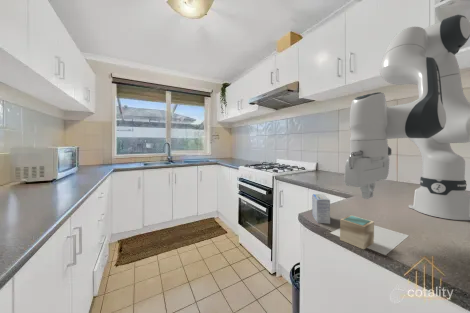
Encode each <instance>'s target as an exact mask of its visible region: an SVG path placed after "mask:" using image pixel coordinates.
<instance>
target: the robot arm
mask: <svg viewBox="0 0 470 313" xmlns="http://www.w3.org/2000/svg"><path fill="white" fill-rule="evenodd" d="M469 39H470V20H469V19H467V17H466V16H465V15H462V14H456V15H451V16H449V17H447V18H444V19H442V20H441V21H439V22H437V23H434V24H432V25H430V26H427V27H425V28H423V27H420V26H409V27H406V28H403V29H402V30H400V31H399V32H398V33H396V34H395V36H394V37H393V38H392V39H391V41H390V42H389V44H388V46H387V48H386V50H385V52H384V53H383V57H382V60H381V62H380V65H379V74H380V77H381V78H382V79H383V81H385V82H387V83H389V84H392V85H396V86H397V85H400V86H401V85H417V91H418V98H417V99H416V100H414V101H413V100H412V101H410V102H408V103H402V104H396V105H391V106H387V99H386V95H385V93H384V92H381V91H380V92H373V93H368V94H364V95H360V96H357V97H355V98H354V99H352V100H351V104H350V108H349V118H348V119H349V120H348V122H349V130H350V137H349V142H348V143H349V144H348V145H349V147H348V148H349V156H348V158H347V159H346V161H345V163H344V175H343V176H344V177H343V178H344V181H343V182H344V185H346V186H347V187H353V188H354V187H355V188H360V191H361V197H362V198H363V199H366V200H369V199H371V198H374V191H375V188H376V183H377V182H380V181H384V180H386V179H387V178H388V175H389V172H390V170H389V169H390V156H392V148H391V147H390V146H389V144H388V139H389V140H391V139H409V140H410V142H412V143H413V144H414V145H415V146H416V147H417V149H418V152H419V154H420V156H421V162H422V163H421V169H422V170H421V173H422V174H421V176H420V180H419V182H420V183H419V185H420V186H419V187H418V188H416V189H415V190H414V197H413V203H412V204H408V208H409V209H411V210H415V211H416V212H419V213H421V214H425V215H427V216H430V217H431V216H432V217H434V218H435V217H437V218H441V219H446V220H454V221H470V194H468V193H467V192H466V190H467V180H465V179H466V178H465V175H466V174H465V173H466V160H465V158H464V157H463V156H461V155H459V154H457V153H455V152H454V150H453V149H452V147H451V144H465V143H470V101H469V100H468V98H467V97H466V95H465V93H464V89H463V84H462V79H461V72H460V71H461V70H460V67H459V65H460V64H459V63H458V59H457V57H456V54H458V52H460V50H461V48H462V47H464V46H465V45H466V44H467V42H468V41H469Z"/></svg>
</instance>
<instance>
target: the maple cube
mask: <svg viewBox="0 0 470 313" xmlns="http://www.w3.org/2000/svg"><path fill="white" fill-rule="evenodd" d="M339 221H340V222H339V224H340V225H339V228H340V237H339V240H340V241H342V242H344V243H345V244H346V243H347V244H349V245H352V246H354V247H357V248H359V249H362V250H366V249H368V248H367V247H368V246H370V245H371V244H373V243H374V225H375V221H374V220H370V219H366V218H362V217H359V216H356V215H351V214H350V215H347V216H345V217H343V218H340V220H339Z"/></svg>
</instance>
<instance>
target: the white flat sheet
mask: <svg viewBox="0 0 470 313" xmlns="http://www.w3.org/2000/svg"><path fill="white" fill-rule="evenodd" d="M330 234H332V235H334V236H336V237H338V238H340V227H339V228H337V229H335V230H333V231H331V232H330ZM408 237H409V234H405V233H401V232H398V231H395V230H392V229H390V228H389V229H388V228H385V227H381V226H379V225H375V224H374V243H373V244H371V245H370V246H368V247H367V248H366V249H369V250H372V251H374V252H376V253H379V254H381V255H384V256H387V254H389V253H390V252H392V250H394V249H395V248H396V247H397V246H398V245H400V244H401V243H402V242H403V241H404V240H406V239H407V238H408Z"/></svg>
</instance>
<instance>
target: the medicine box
mask: <svg viewBox="0 0 470 313" xmlns="http://www.w3.org/2000/svg"><path fill="white" fill-rule="evenodd" d="M311 200H312V201H311V205H312V210H311V212H312V217H313V218H314V220H315V221H316V223H317V224H327V225H329V224H331V199H329V197H327V196H326V195H325V194H317V193H316V194H314V193H313V194H312V197H311Z"/></svg>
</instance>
